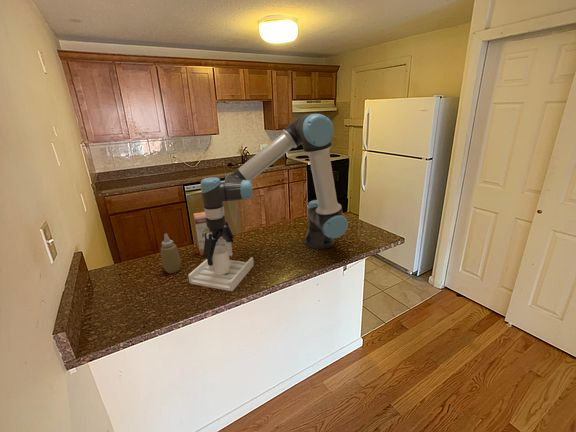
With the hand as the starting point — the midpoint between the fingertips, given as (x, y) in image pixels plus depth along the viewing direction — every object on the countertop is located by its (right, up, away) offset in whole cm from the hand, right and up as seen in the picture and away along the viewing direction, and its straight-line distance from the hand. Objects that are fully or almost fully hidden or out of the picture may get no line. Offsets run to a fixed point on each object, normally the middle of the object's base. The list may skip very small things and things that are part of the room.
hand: (221, 262), depth 120 cm
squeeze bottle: (-24, -5, +7) cm, 25 cm away
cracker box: (-9, +2, +23) cm, 25 cm away
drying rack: (0, -5, +2) cm, 6 cm away
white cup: (0, -4, +1) cm, 4 cm away
